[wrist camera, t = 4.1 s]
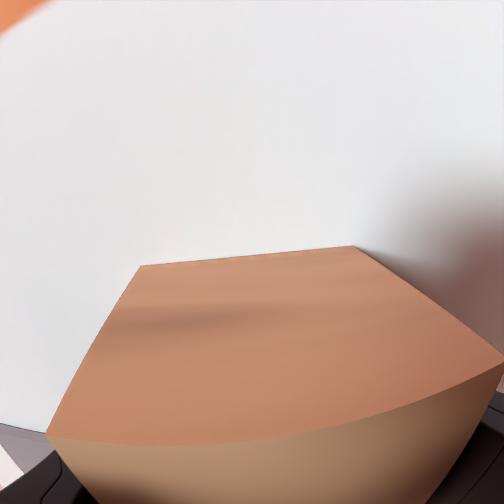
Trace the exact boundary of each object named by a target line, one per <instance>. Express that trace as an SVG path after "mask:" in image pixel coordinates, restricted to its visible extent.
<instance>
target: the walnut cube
mask: <svg viewBox="0 0 504 504" xmlns="http://www.w3.org/2000/svg"><path fill="white" fill-rule="evenodd" d="M503 372H504V355H503V354H502V353H501V352H500V351H498V350H497V349H496V348H495V347H493V346H492V345H491V344H490V343H488V342H487V341H486V340H484V339H483V338H482V337H481V336H479V335H478V334H477V333H475V332H474V331H473V330H472V329H470V328H469V327H468V326H466V325H465V324H464V323H462V322H461V321H460V320H458V319H457V318H456V317H454V316H453V315H452V314H450V313H449V312H448V311H446V310H445V309H444V308H442V307H441V306H440V305H438V304H437V303H435V302H434V301H433V300H431V299H430V298H428V297H427V296H426V295H424V294H423V293H422V292H420V291H419V290H417V289H416V288H414V287H413V286H412V285H410V284H409V283H407V282H406V281H404V280H403V279H402V278H400V277H399V276H397V275H396V274H394V273H393V272H391V271H390V270H388V269H387V268H386V267H384V266H383V265H381V264H380V263H378V262H377V261H375V260H374V259H372V258H371V257H369V256H368V255H366V254H365V253H363V252H362V251H360V250H359V249H357V248H356V247H354V246H344V247H333V248H323V249H313V250H303V251H292V252H282V253H272V254H261V255H251V256H240V257H230V258H219V259H209V260H198V261H188V262H177V263H166V264H156V265H145V266H140V268H139V269H138V271H137V272H136V274H135V275H134V277H133V278H132V280H131V281H130V283H129V284H128V286H127V287H126V289H125V291H124V292H123V294H122V295H121V297H120V299H119V300H118V302H117V303H116V305H115V307H114V308H113V310H112V311H111V313H110V315H109V316H108V318H107V320H106V321H105V323H104V325H103V326H102V328H101V330H100V331H99V333H98V335H97V337H96V338H95V340H94V342H93V343H92V345H91V347H90V349H89V350H88V352H87V354H86V356H85V358H84V359H83V361H82V363H81V365H80V367H79V368H78V370H77V372H76V374H75V376H74V378H73V379H72V381H71V383H70V385H69V387H68V389H67V391H66V393H65V395H64V397H63V399H62V401H61V403H60V404H59V406H58V408H57V411H56V413H55V415H54V417H53V419H52V421H51V423H50V425H49V427H48V429H47V431H46V433H45V436H46V437H47V439H48V440H49V441H50V443H51V444H52V446H53V447H54V449H55V450H56V451H57V453H58V454H59V456H60V457H61V458H62V460H63V461H64V462H65V464H66V465H67V466H68V467H69V469H70V470H71V471H72V472H73V474H74V475H75V476H76V477H77V479H78V480H79V481H80V482H81V483H82V485H83V486H84V487H85V488H86V489H87V490H88V492H89V493H90V494H91V495H92V496H93V497H94V498H95V499H96V500H97V502H98V503H99V504H425V503H426V501H427V500H428V499H429V498H430V496H431V495H432V494H433V493H434V491H435V490H436V489H437V487H438V486H439V485H440V483H441V482H442V481H443V479H444V478H445V476H446V475H447V474H448V472H449V471H450V469H451V468H452V466H453V465H454V463H455V462H456V460H457V459H458V457H459V456H460V454H461V453H462V451H463V450H464V448H465V446H466V445H467V443H468V441H469V440H470V438H471V436H472V435H473V433H474V431H475V429H476V428H477V426H478V424H479V422H480V420H481V418H482V417H483V415H484V413H485V411H486V409H487V407H488V405H489V403H490V401H491V399H492V397H493V395H494V392H495V390H496V388H497V386H498V384H499V381H500V379H501V377H502V374H503Z"/></svg>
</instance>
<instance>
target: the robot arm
mask: <svg viewBox="0 0 504 504" xmlns="http://www.w3.org/2000/svg"><path fill="white" fill-rule="evenodd" d="M0 504H99V503H98V502H97V500H96V499H95V498H94V497H93V496H92V495H91V494H90V493H89V492H88V490H87V489H86V488H85V487H84V486H83V485H82V483H81V482H80V481H79V480H78V479H77V477H76V476H75V475H74V474H73V472H72V471H71V470H70V469H69V467H68V466H67V465H66V464H65V462H64V461H63V460H62V458H61V457H60V456H59V454H58V453H57V451H56V450H55V449H54V450H53V451H52V452H51V453H50V454H49V455H48V456H47V457H45V458H44V459H43V460H42V461H41V462H39V463H38V464H37V465H36V466H35V467H33V468H32V469H31V470H29V471H28V472H27V473H25V474H24V475H23V476H21V477H20V478H19V479H17V480H16V481H14V482H13V483H11V484H10V485H8V486H7V487H5V488H4V489H3V490H1V491H0ZM425 504H504V394H503V393H500V392H497V391H495V392H494V395H493V397H492V399H491V401H490V403H489V405H488V407H487V409H486V411H485V413H484V415H483V417H482V418H481V420H480V422H479V424H478V426H477V428H476V429H475V431H474V433H473V435H472V436H471V438H470V440H469V441H468V443H467V445H466V446H465V448H464V450H463V451H462V453H461V454H460V456H459V457H458V459H457V460H456V462H455V463H454V465H453V466H452V468H451V469H450V471H449V472H448V474H447V475H446V476H445V478H444V479H443V481H442V482H441V483H440V485H439V486H438V487H437V489H436V490H435V491H434V493H433V494H432V495H431V496H430V498H429V499H428V500H427V501H426V503H425Z"/></svg>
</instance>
